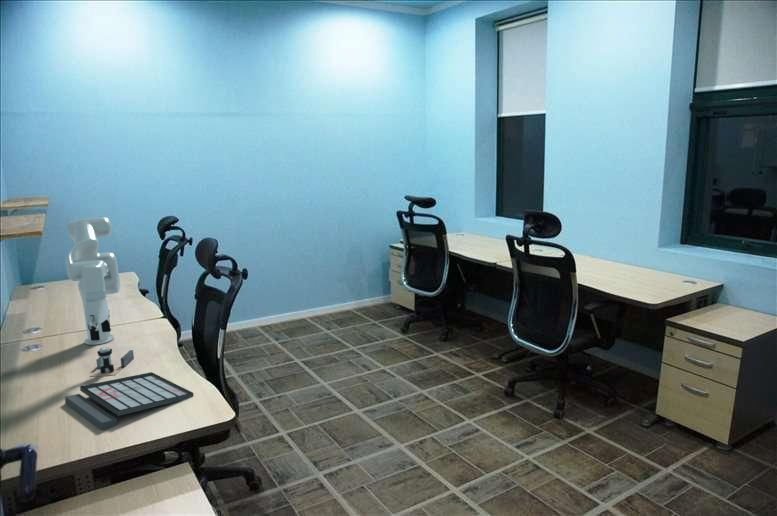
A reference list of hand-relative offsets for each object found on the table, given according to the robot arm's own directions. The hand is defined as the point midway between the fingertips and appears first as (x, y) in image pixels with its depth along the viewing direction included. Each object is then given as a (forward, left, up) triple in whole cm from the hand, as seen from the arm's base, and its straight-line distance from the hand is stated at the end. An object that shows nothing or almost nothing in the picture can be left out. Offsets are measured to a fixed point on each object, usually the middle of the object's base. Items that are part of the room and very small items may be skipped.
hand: (101, 335), depth 216 cm
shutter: (+28, +20, -16) cm, 38 cm away
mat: (+1, 0, -16) cm, 16 cm away
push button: (+1, 0, -16) cm, 16 cm away
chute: (-9, 0, -16) cm, 18 cm away
